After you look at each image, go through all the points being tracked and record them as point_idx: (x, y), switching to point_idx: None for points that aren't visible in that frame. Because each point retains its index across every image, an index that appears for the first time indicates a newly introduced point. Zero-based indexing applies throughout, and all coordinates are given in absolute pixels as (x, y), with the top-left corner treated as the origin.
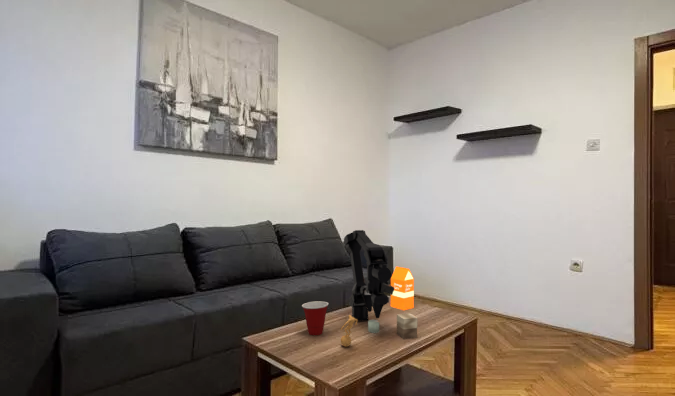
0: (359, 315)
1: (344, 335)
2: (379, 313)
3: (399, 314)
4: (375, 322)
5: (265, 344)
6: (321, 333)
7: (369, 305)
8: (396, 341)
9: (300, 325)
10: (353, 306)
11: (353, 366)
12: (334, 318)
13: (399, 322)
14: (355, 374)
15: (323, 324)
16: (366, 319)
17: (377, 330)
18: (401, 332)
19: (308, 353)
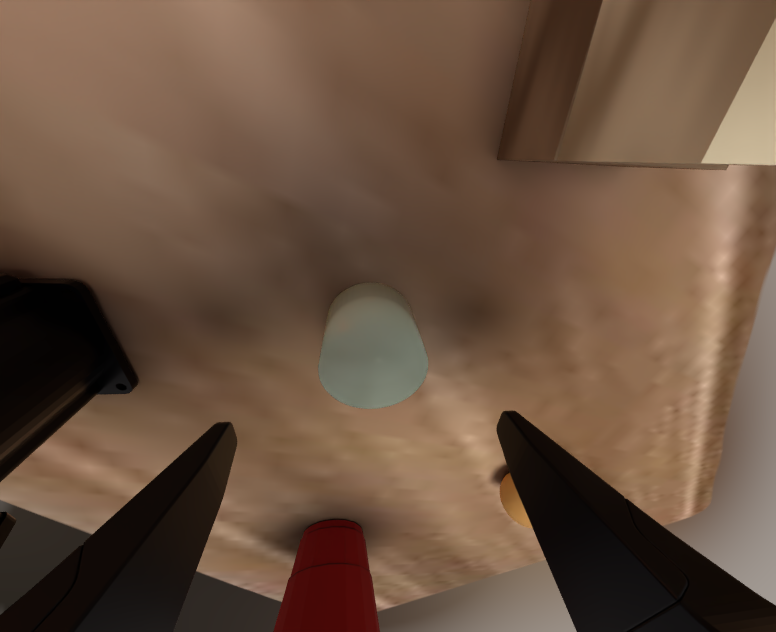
0: (69, 387)
1: (532, 527)
2: (571, 468)
3: (753, 88)
4: (405, 364)
5: (394, 599)
6: (353, 526)
7: (187, 532)
8: (621, 244)
9: (225, 563)
10: (5, 529)
11: (667, 475)
12: (72, 469)
13: (681, 163)
14: (708, 477)
15: (356, 574)
16: (74, 301)
17: (412, 315)
18: (639, 166)
19: (504, 544)
